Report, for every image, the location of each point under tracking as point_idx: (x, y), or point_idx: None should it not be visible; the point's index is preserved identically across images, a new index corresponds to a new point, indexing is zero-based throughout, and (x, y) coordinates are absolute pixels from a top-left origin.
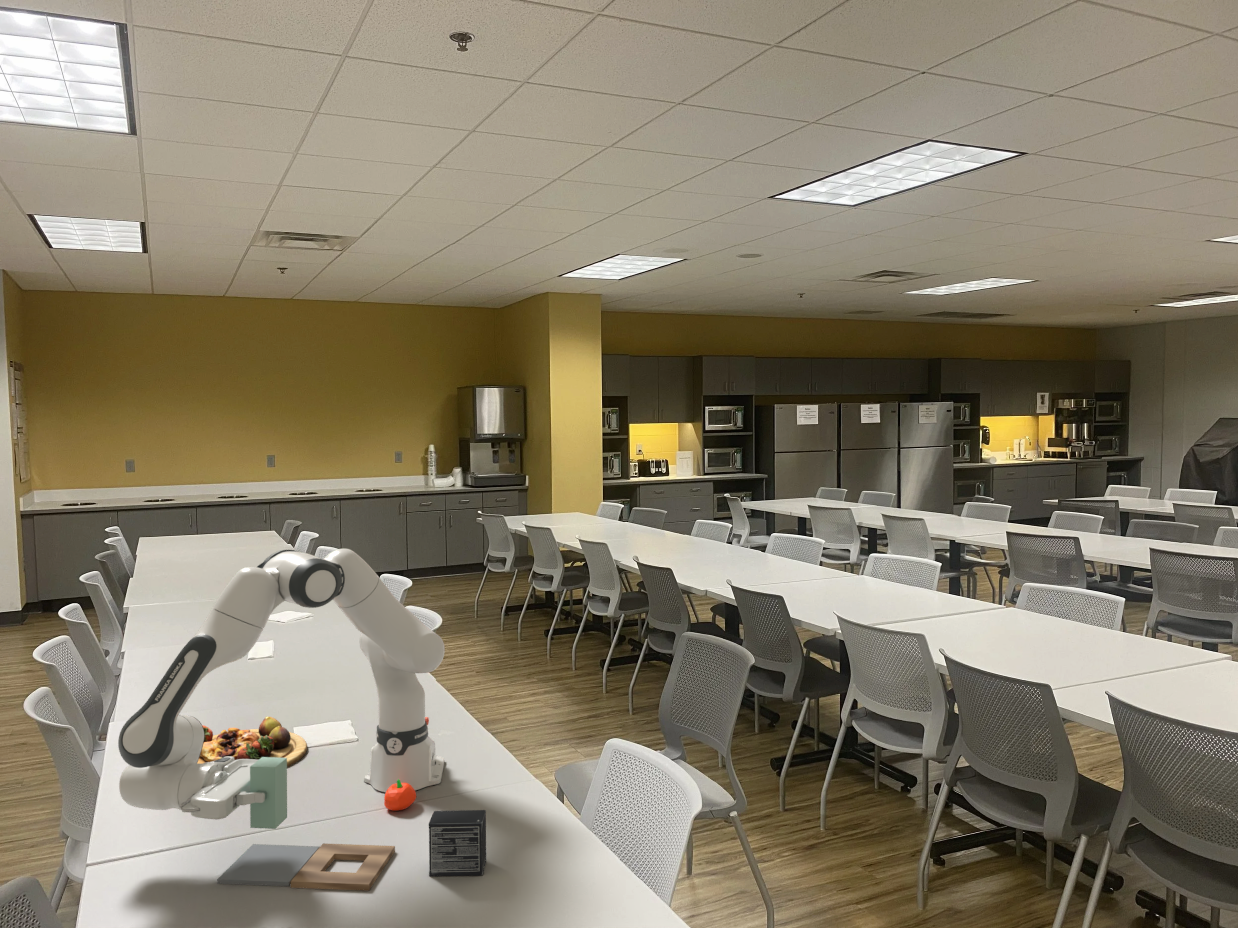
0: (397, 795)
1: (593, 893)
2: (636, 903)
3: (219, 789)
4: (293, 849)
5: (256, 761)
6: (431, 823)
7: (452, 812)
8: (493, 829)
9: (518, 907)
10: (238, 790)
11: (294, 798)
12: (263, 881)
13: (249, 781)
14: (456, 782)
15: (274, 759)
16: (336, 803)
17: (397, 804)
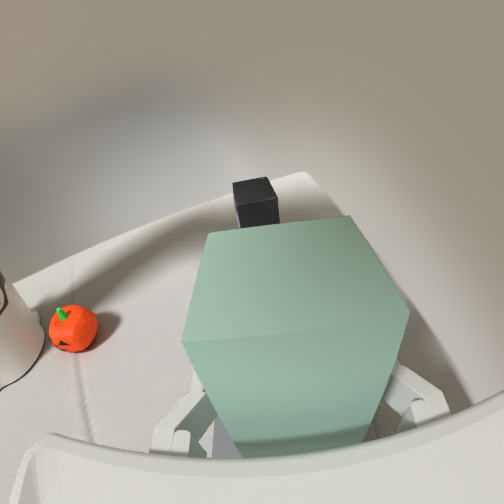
0: (86, 315)
1: (286, 188)
2: (293, 177)
3: (487, 501)
4: (231, 449)
5: (29, 494)
6: (276, 195)
7: (242, 193)
8: (172, 247)
9: (319, 205)
10: (443, 418)
11: (6, 492)
12: (375, 434)
13: (310, 453)
14: (44, 301)
15: (236, 261)
16: (38, 426)
17: (95, 324)
